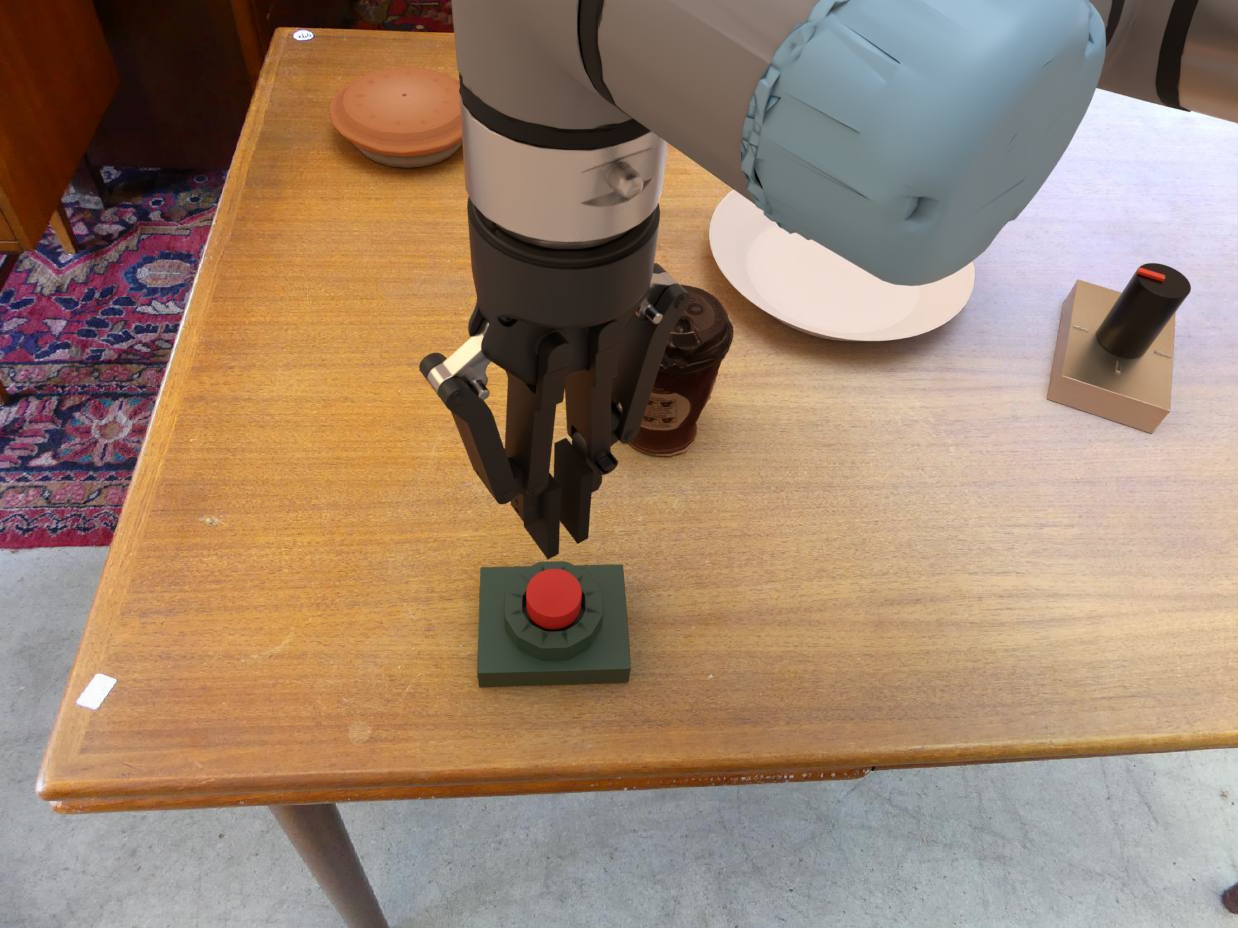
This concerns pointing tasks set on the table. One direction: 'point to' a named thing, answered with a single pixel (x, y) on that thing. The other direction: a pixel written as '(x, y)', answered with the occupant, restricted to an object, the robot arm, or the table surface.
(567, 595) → the button
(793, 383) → the table surface
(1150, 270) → the hob knob
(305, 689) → the table surface
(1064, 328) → the panel
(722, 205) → the white plate
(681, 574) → the table surface
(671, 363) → the coffee cup
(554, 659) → the button box
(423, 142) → the pie
